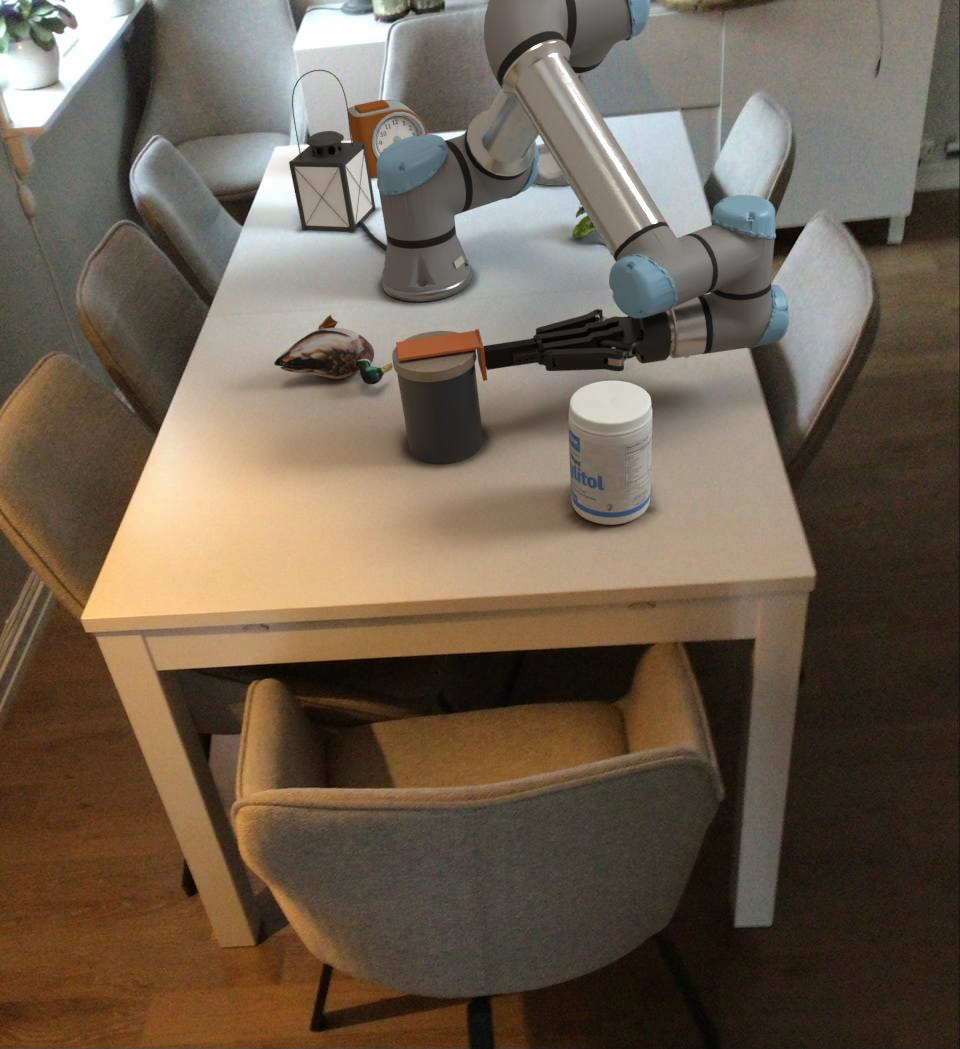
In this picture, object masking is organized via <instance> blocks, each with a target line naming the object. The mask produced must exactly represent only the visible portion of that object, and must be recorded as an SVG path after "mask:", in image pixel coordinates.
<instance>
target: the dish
mask: <svg viewBox="0 0 960 1049" xmlns="http://www.w3.org/2000/svg"><path fill="white" fill-rule="evenodd" d="M537 148H538V153H539V162H537V166H538V173H537V176H536V179H535V181H534V182H533V183H535V184H538V185H545V186H564V185H565V186H566V185H569V183H568V182H567V180H566V178H565V177H564V175H563V173H562V172H561V170H560V168H559V167H558V165H557V163H556V162H555V160H554V158H553V157H552V155H551V153H550V152H549V150H548V148H547V147H546V145H545V143H544V142H543V143H541V144H537Z"/></svg>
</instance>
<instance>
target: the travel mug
mask: <svg viewBox="0 0 960 1049" xmlns="http://www.w3.org/2000/svg"><path fill="white" fill-rule="evenodd" d="M456 333H458V332H457V331H451V330H433V331H426V332H421V333H418V334H415V335H414V334H413V335H412V336H409V337H408V338H405V339H404V340H403V341H409V340H415V339H422V338H429V337H435V336H442V335H449V334H456ZM391 360H392V367H393V369H394V371H395V373H396V375H397V382H398V387H399V394H400V399H401V405H402V412H403V419H404V424H405V431H406V432H405V433H406V438H407V443H408V449H409V452H410V454H411V455H412V456H413V457H414V458H415V459H417V460H419V461H421V462H424V463H428V464H433V465H434V464H435V465H447V464H448V465H449V464H453V463H457V462H460V461H464V460H467V459H469V458H470V457H472V456H474V455H475V454H476V453H477V452H478V451H479V450H480V449H481V447H482V446H483V442H484V436H483V435H484V434H483V427H482V426H483V425H482V417H481V408H480V399H479V388H478V380H477V379H478V378H477V370H476V361H477V350H471V351H465V352H458V353H451V354H445V355H438V356H431V357H424V358H418V359H411V360H404V361H399V358H398V352H397V346H395V347H394V349H393V350H392V354H391Z"/></svg>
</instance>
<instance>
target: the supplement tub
mask: <svg viewBox="0 0 960 1049" xmlns="http://www.w3.org/2000/svg"><path fill="white" fill-rule="evenodd" d="M568 408H569V409H568V417H567V418H568V419H567V420H568V450H569V451H568V452H569V477H570V478H569V479H570V500H571V504H572V507H573V510H575V511H576V513H577V514H578V515H579V516H580V517H582V518H584V519H585V520H587V521H589V522H592V523H595V524H601V525H612V526H615V525H622V524H626V523H629V522H631V521H635V520H636V519H638V518H639V517H641V516H642V515H643V514H644V513H645V512H646V511H647V510H648V508H649V505H650V504H651V503H650V502H651V488H652V487H651V484H652V449H653V448H652V447H653V444H652V443H653V408H652V398H651V396H650V394H649V393H648V392H647V391H646V389H644V388H642V387H641V386H639V385H637V384H634V383H632V382H627V381H622V380H600V381H596V382H592V383H589V384H587V385H584V386H582V387H580V388H579V389H577V390H576V391H575V392H574V393H573V394H572V395H571V397H570V400H569V407H568Z"/></svg>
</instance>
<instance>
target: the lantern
mask: <svg viewBox="0 0 960 1049" xmlns="http://www.w3.org/2000/svg"><path fill="white" fill-rule="evenodd" d="M313 72H326V73H329V74H330V75H332V76H333V77H334V78H335V79H336V80H337V82H338V83H339V85H340V87H341V89H342V92H343V96H344V101H345V105H346V112H347V120H348V130H349V137H350V138H349V139H350V142H343V141H344V139H345V136H344V135H343V134H342V133H340V132H338V131H335V130H324V131H319V132H316V133H313V134H311V136H309V137H308V138H307V140H306V145H308V146H307V147H306V148H305V149H304V150H302V151H301V148H300V141H299V137H298V136H299V135H298V131H297V124H296V118H295V112H294V111H295V110H294V94H295V90H296V87H297V85H298V83H299V82H300V80H301V79H302V78H303V77H305V76H306V75H308V74H311V73H313ZM348 109H349V106H348V100H347V97H346V92H345V89H344V87H343V85H342V82H341V80H340V79H339V78H338V77H337V76H336V75H335V74H334V73H333V72H331V71H329V70H325V69H314V70H313V69H312V70H310V71H307V72H305V73H304V74H302V75H301V76H300V77H299V78H298V79H297V80H296V82H295V84H294V86H293V90H292V95H291V110H292V118H293V124H294V130H295V137H296V141H297V146H298V155H297V156H295V157H294V158H293V159H291V160H289V161H288V166H289V170H290V175H291V180H292V184H293V185H292V186H293V189H294V194H295V199H296V205H297V208H298V214H299V219H300V226H301V229H302V231H322V232H323V231H325V232H328V231H329V232H350V233H355V232H356V231H357V229H358V228H359V227H361V226H360V224H359V221H360V220H361V221H362V222H363V223H364V222H365V221H366V219H368V218H369V217H370V216H371V214H372V213H373V212H375V211H376V210H377V209H376V203H375V197H374V196H375V195H374V190H373V184H372V183H373V182H372V178H371V176H370V170H369V164H368V157H367V151H366V144H365V143H364V142H361V143H353V142H352V136H351V130H350V121H349V113H348Z"/></svg>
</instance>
